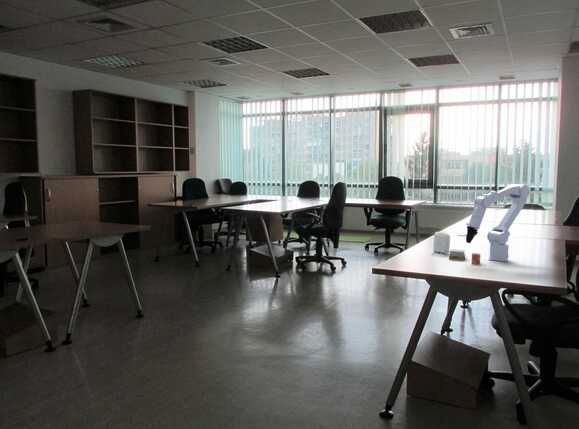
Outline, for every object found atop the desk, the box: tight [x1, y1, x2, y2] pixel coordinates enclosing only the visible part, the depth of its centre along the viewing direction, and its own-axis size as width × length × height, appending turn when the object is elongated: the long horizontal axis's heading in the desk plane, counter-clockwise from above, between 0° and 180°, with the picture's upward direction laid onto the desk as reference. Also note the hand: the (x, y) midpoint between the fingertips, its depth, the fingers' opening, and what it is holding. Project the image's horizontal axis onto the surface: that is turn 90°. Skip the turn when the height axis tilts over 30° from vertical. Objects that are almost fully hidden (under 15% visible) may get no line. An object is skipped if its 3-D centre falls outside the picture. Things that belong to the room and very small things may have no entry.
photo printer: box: [433, 231, 451, 255], centre depth 282 cm, size 10×4×12 cm, turn 28°
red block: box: [471, 252, 481, 265], centre depth 251 cm, size 4×4×5 cm
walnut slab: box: [448, 253, 466, 261], centre depth 264 cm, size 8×8×2 cm
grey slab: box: [449, 248, 466, 257], centre depth 264 cm, size 7×7×2 cm
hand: (467, 241), depth 254 cm, fingers open, 7 cm apart
